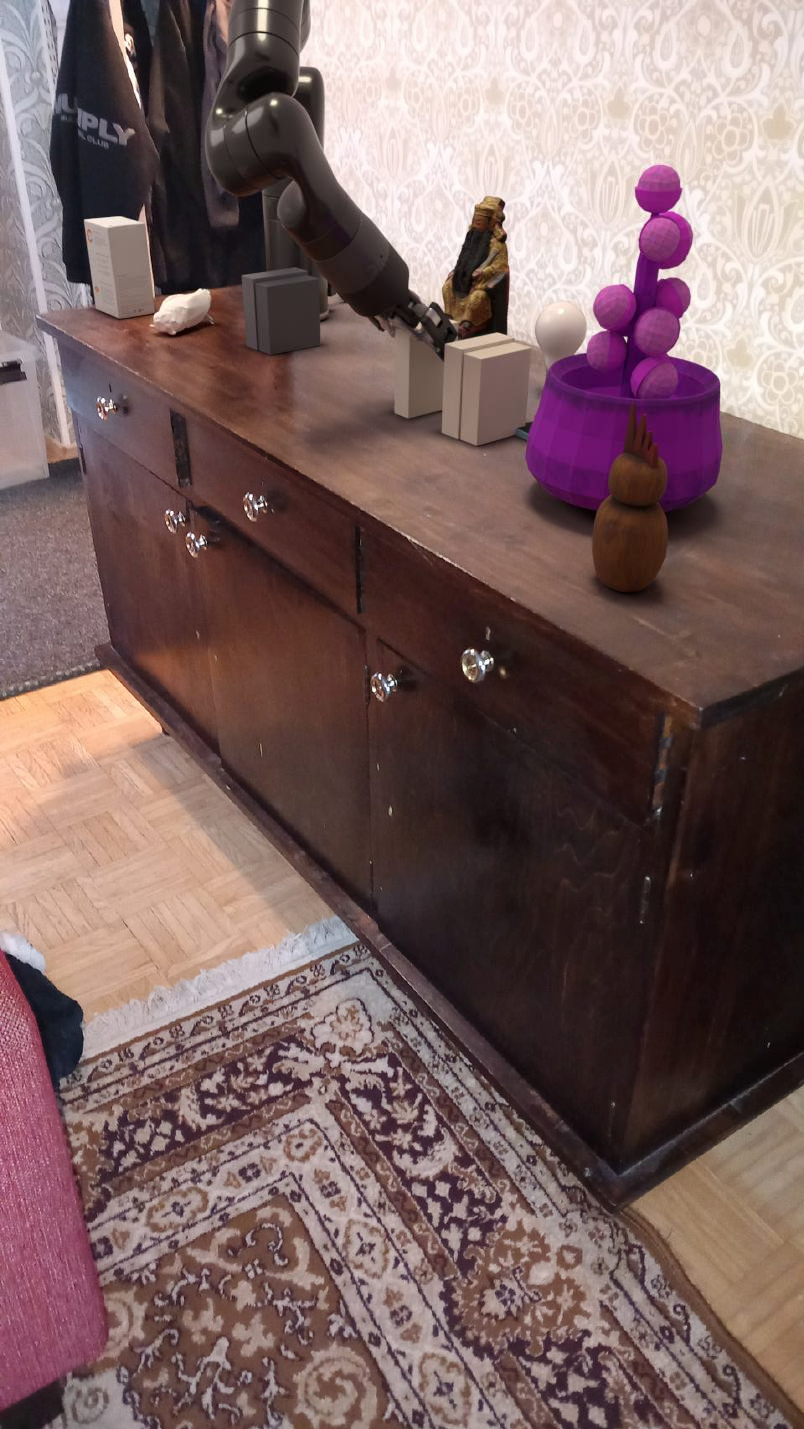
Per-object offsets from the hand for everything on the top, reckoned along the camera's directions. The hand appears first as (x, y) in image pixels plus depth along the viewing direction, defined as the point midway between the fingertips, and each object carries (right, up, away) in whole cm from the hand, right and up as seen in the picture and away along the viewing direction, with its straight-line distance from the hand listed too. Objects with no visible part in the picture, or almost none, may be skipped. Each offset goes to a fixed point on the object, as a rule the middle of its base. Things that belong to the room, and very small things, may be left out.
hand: (437, 355), depth 127 cm
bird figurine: (-36, +14, +32) cm, 50 cm away
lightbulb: (+15, -2, +9) cm, 18 cm away
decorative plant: (+17, -21, -20) cm, 34 cm away
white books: (+5, -10, -4) cm, 12 cm away
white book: (-1, -6, +2) cm, 6 cm away
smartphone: (+16, -10, -3) cm, 19 cm away
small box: (-47, +20, +40) cm, 65 cm away
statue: (+6, +7, +22) cm, 23 cm away
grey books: (-21, +10, +25) cm, 34 cm away
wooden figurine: (+15, -31, -35) cm, 49 cm away
